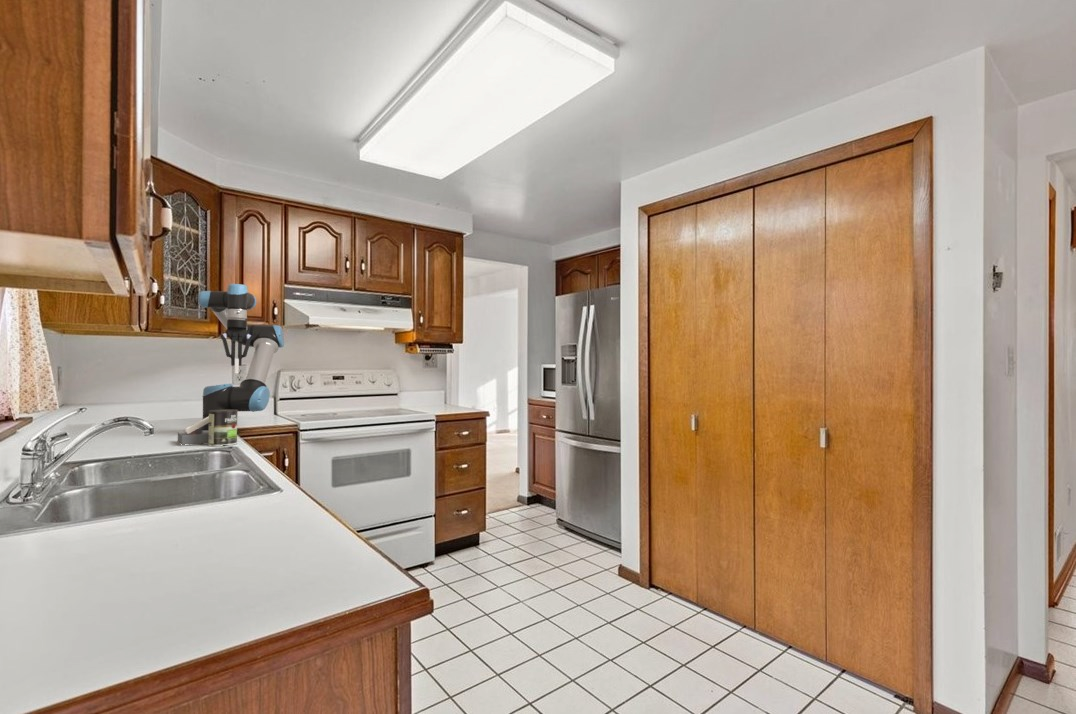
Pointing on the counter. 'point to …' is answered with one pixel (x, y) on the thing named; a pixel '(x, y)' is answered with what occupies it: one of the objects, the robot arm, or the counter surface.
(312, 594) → the counter surface
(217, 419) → the coffee can
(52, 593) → the counter surface
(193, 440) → the box
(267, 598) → the counter surface
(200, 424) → the bar
